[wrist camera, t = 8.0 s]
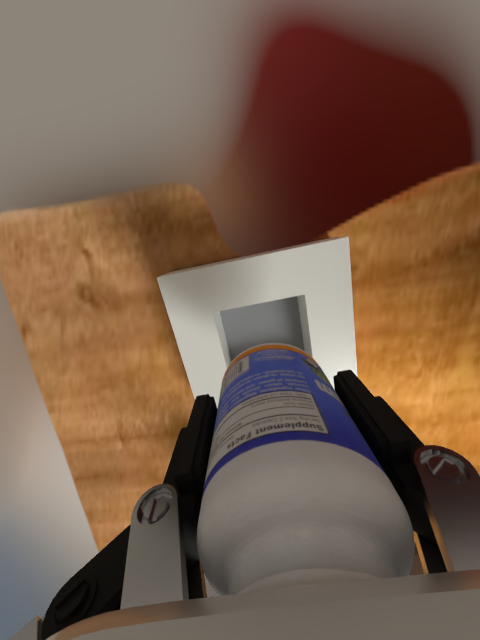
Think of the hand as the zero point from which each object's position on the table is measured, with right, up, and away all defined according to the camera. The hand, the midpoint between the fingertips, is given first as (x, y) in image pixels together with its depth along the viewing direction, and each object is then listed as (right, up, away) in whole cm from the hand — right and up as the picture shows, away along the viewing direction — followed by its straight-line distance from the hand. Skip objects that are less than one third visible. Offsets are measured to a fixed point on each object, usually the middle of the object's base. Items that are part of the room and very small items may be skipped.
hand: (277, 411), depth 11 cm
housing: (0, +3, +10) cm, 11 cm away
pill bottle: (0, +1, +2) cm, 2 cm away
